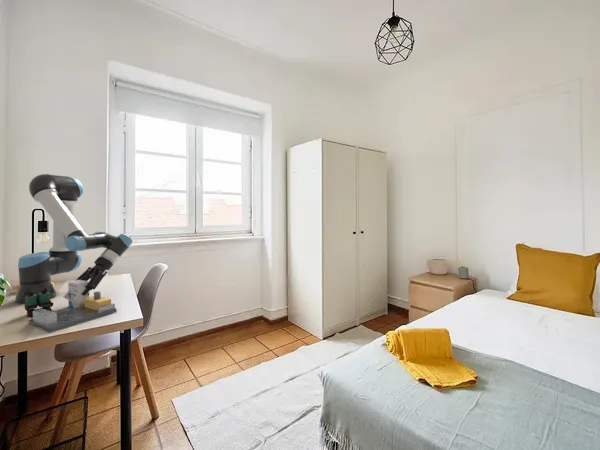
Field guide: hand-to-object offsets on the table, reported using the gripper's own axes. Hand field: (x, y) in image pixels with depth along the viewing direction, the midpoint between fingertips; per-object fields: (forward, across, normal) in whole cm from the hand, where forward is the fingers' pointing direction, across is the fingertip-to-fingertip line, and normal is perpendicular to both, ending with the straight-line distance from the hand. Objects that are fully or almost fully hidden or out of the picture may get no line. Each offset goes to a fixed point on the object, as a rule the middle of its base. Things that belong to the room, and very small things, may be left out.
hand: (70, 299), depth 127 cm
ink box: (+1, 0, -5) cm, 5 cm away
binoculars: (+10, +4, +4) cm, 11 cm away
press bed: (+6, -15, +1) cm, 16 cm away
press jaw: (-1, -15, -4) cm, 16 cm away
